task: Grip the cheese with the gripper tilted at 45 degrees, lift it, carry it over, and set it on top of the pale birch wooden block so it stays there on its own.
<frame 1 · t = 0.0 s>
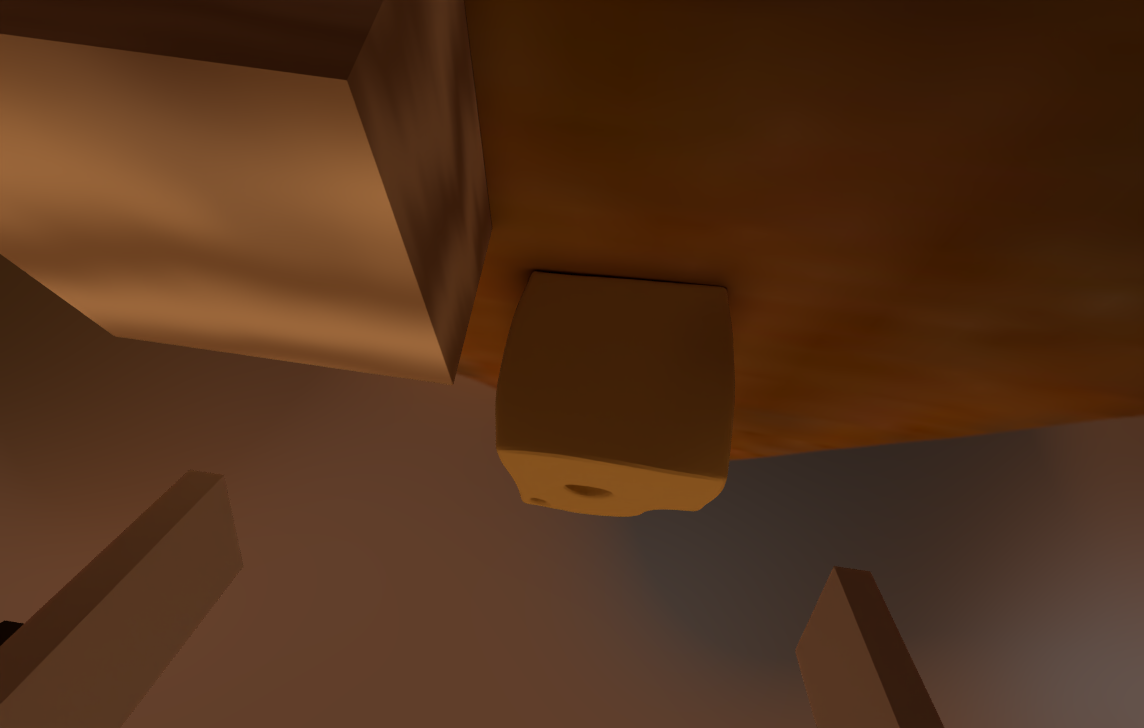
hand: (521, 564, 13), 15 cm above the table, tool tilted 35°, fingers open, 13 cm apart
birch block: (283, 75, 21), on the table
cheese: (623, 320, 33), on the table
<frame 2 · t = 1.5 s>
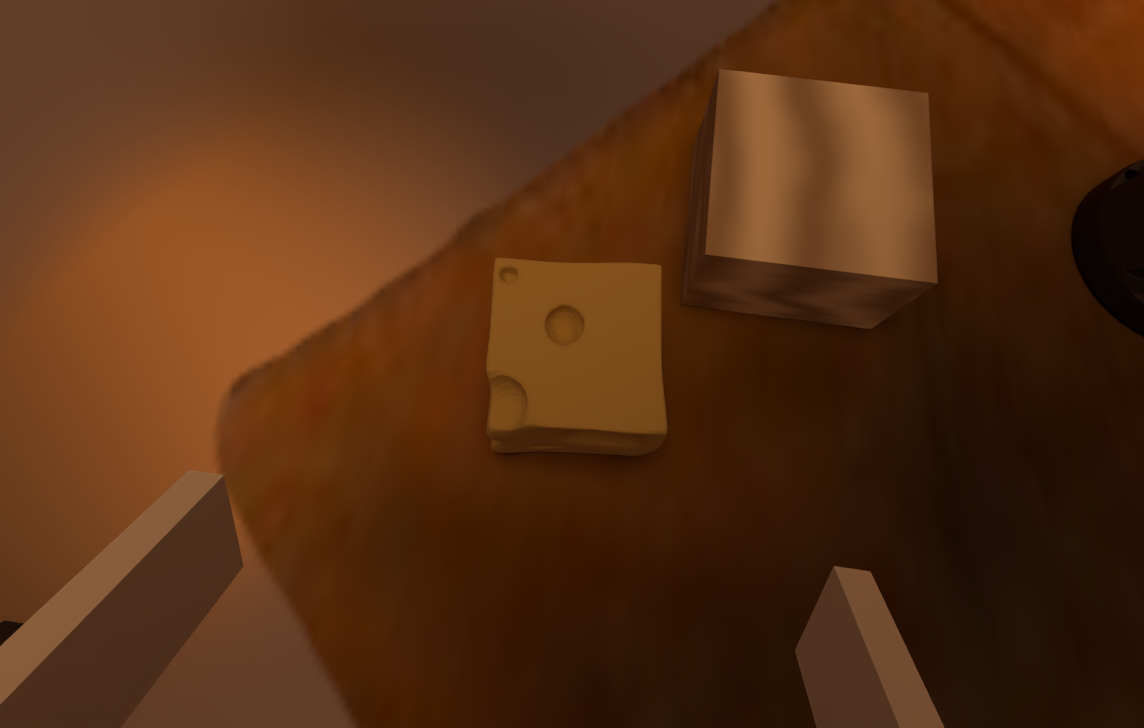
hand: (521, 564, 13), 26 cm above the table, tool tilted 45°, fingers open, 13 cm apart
birch block: (778, 232, 45), on the table
cheese: (574, 384, 41), on the table
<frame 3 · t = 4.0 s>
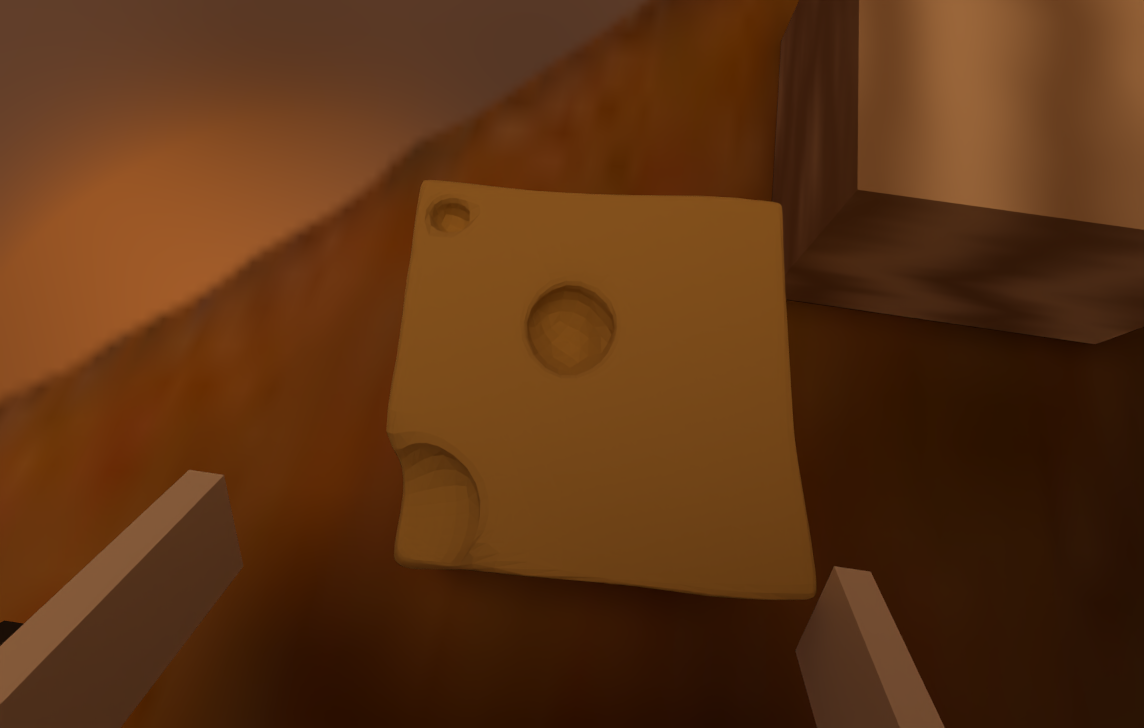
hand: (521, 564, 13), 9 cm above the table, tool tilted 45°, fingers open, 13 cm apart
birch block: (925, 180, 27), on the table
cheese: (582, 432, 23), on the table, touching gripper
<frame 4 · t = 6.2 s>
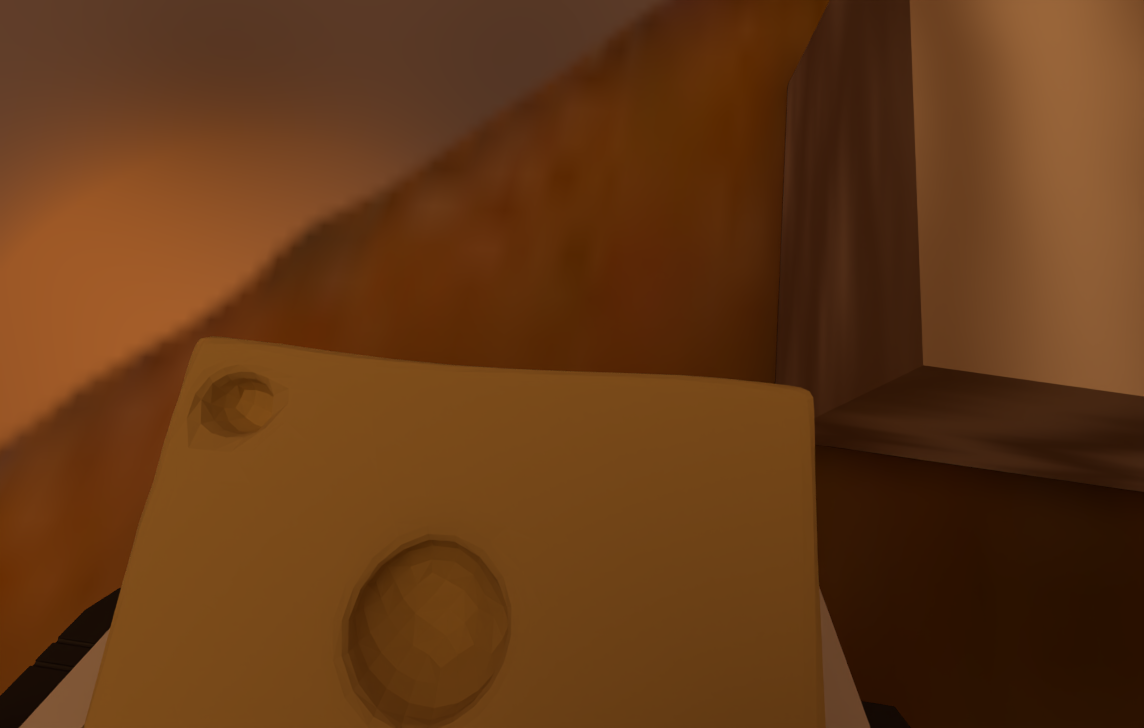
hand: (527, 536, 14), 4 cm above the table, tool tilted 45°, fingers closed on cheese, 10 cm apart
birch block: (979, 271, 20), on the table
cheese: (519, 615, 17), on the table, touching gripper
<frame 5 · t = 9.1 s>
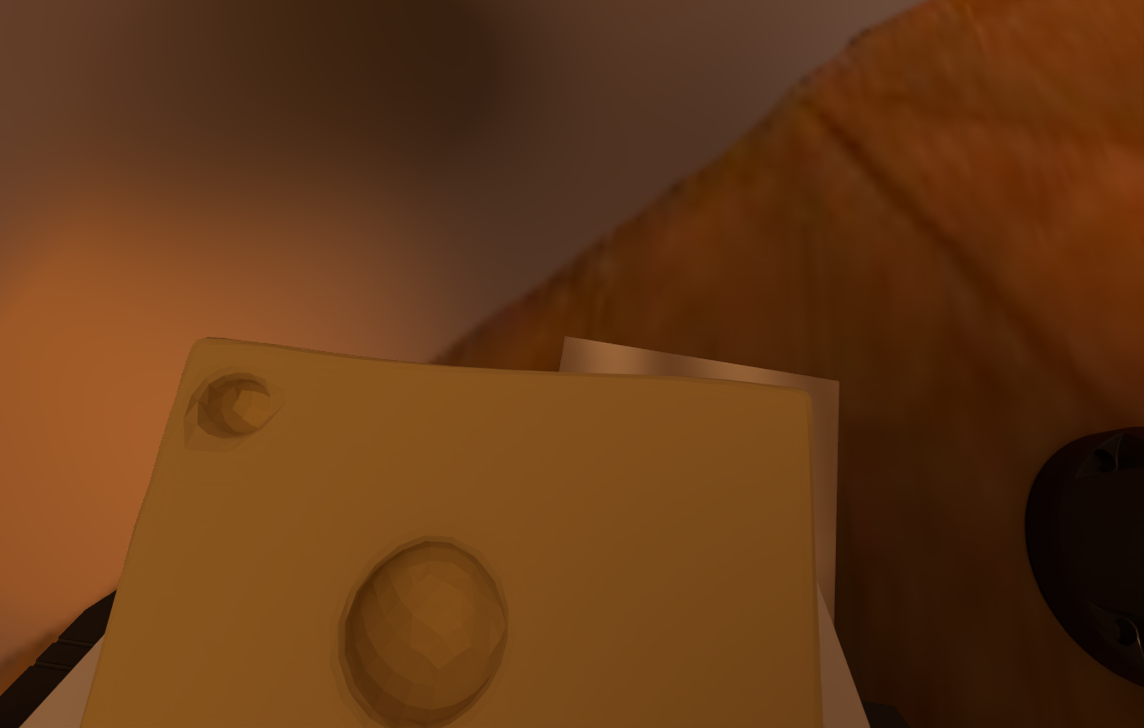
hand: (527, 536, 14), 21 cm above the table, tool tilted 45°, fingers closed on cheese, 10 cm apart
birch block: (657, 508, 35), on the table
cheese: (517, 616, 17), point 17 cm above the table, touching gripper
when the fingers open (13 cm above the table, at t = 12.0 s): cheese drops 1 cm, resting on birch block.
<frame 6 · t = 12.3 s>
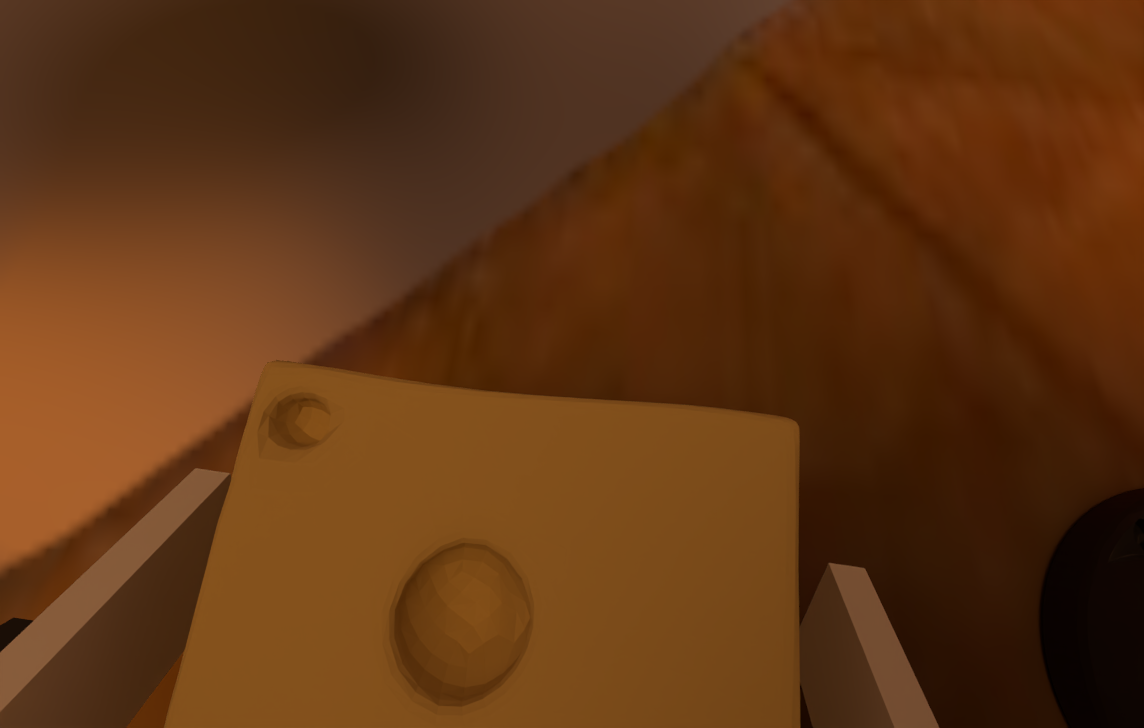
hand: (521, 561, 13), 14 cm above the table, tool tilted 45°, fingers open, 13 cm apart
cheese: (528, 611, 18), point 8 cm above the table, touching birch block
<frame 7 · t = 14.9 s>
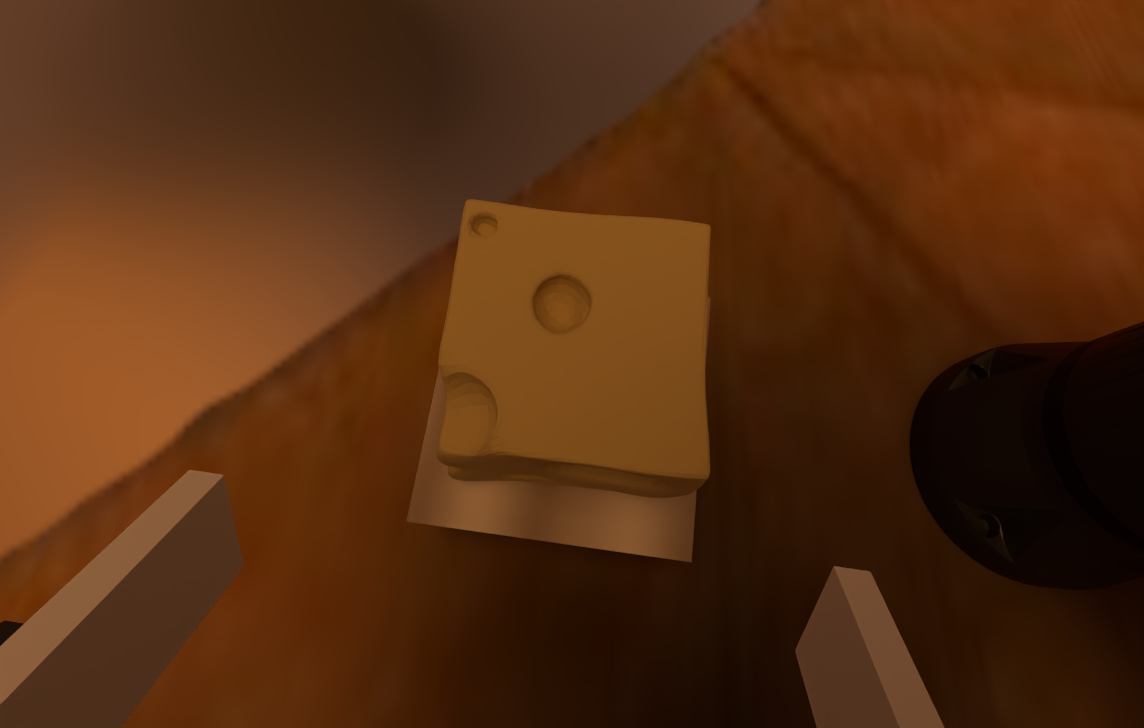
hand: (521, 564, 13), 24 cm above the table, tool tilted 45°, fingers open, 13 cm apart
birch block: (566, 430, 38), on the table
cheese: (571, 391, 31), point 8 cm above the table, touching birch block
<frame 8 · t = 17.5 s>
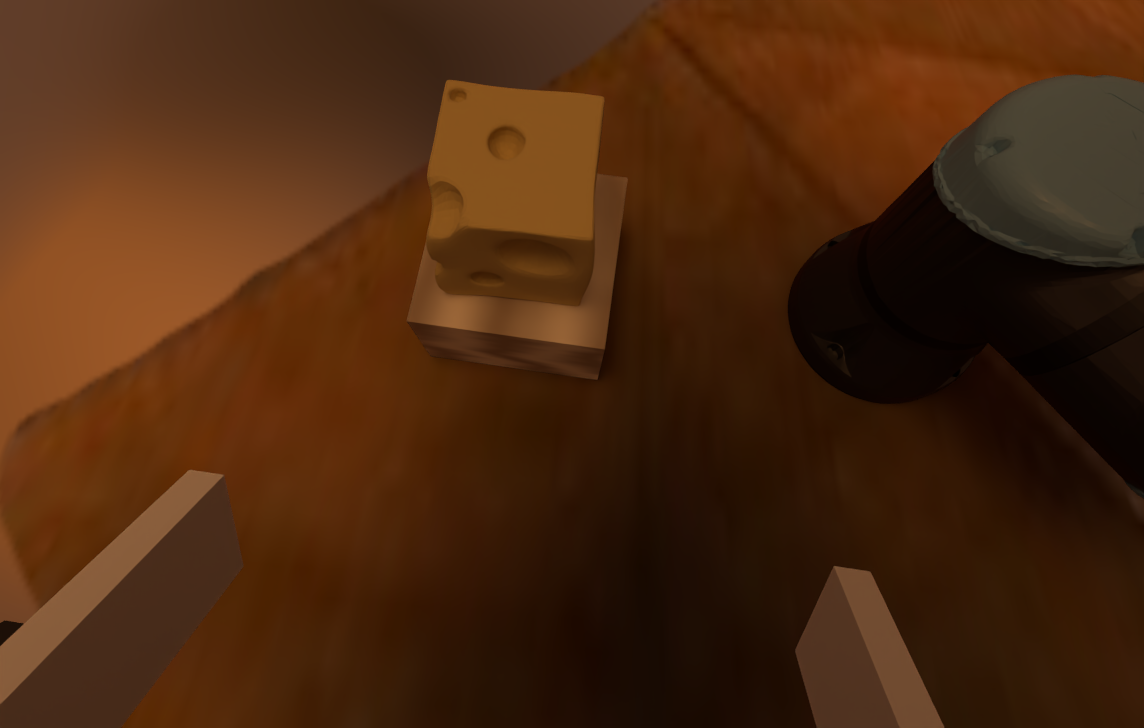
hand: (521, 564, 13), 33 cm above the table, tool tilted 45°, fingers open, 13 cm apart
birch block: (527, 291, 50), on the table
cheese: (525, 239, 43), point 8 cm above the table, touching birch block
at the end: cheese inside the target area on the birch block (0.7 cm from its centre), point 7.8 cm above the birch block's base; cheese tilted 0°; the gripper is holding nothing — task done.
